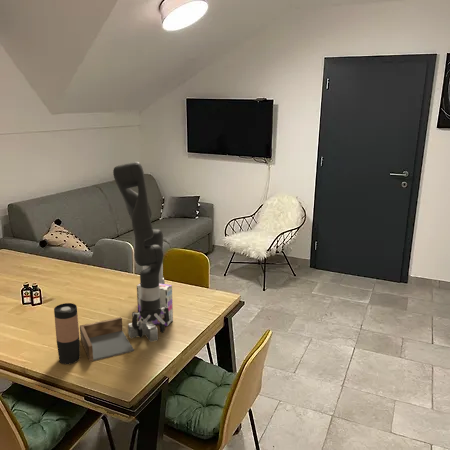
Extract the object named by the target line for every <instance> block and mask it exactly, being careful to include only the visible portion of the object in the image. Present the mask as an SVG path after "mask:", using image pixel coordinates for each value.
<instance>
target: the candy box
mask: <svg viewBox="0 0 450 450" xmlns="http://www.w3.org/2000/svg"><path fill="white" fill-rule="evenodd" d="M159 287H160V308H163V307H164V306H166V307H167V308H168V310H169V322H166V323H165V327H168V326H170V324H171V323H172V322H174V314H173V313H174V311H173V310H174V309H173V304H174V303H173V284H167V283H165V284H161V283H159ZM136 297H137V298H136V300H137V301H136V303H137V313H138V312H140V310H141V306H140V283H138V284H137V285H136ZM159 316H160V317H161V318H162V319H164V313H163V312H162V311H161V313H160V315H159ZM140 318H141V316H139V318H138V319H137V322H138V321H139V320H140ZM152 322H153V323H154V325H158V326H160V321H159V320H158V319H156V320H155V321H152Z"/></svg>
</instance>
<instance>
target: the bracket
mask: <svg viewBox="0 0 450 450" xmlns="http://www.w3.org/2000/svg"><path fill="white" fill-rule="evenodd" d="M138 322H139V321H138V320H137V324H138ZM127 331H128V332H127V334H128V337H129V338H130V339H134V338H140V337H139V336H138V334H137V329H134V327H133V326H132V322H129V323H127ZM158 332H159V330H158V327H157V326H156V324H154V323H153V322H152V321H150V322H146V324H145V325H143V327H142V337H143V336H145V337H146V338H147V340H148V341H149V342H150V343H152V342H156V341H158V340H159V338H158V337H159V335H158V334H159V333H158Z"/></svg>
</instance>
